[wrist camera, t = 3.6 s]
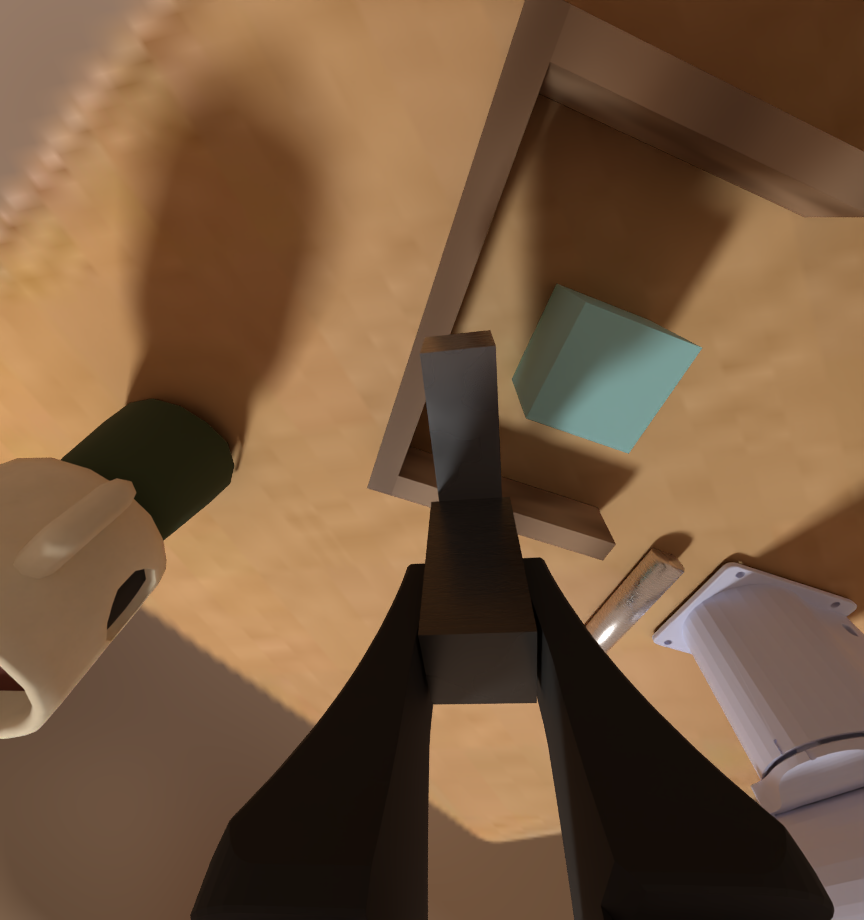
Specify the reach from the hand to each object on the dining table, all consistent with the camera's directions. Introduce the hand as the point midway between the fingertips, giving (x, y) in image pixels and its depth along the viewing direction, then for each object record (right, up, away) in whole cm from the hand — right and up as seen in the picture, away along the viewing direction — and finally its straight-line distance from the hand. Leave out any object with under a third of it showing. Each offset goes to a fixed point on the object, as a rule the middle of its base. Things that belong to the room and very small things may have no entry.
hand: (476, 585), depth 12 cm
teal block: (+5, +9, +7) cm, 12 cm away
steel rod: (+10, -7, +16) cm, 20 cm away
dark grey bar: (0, +2, +3) cm, 4 cm away
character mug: (-15, +4, +11) cm, 19 cm away
